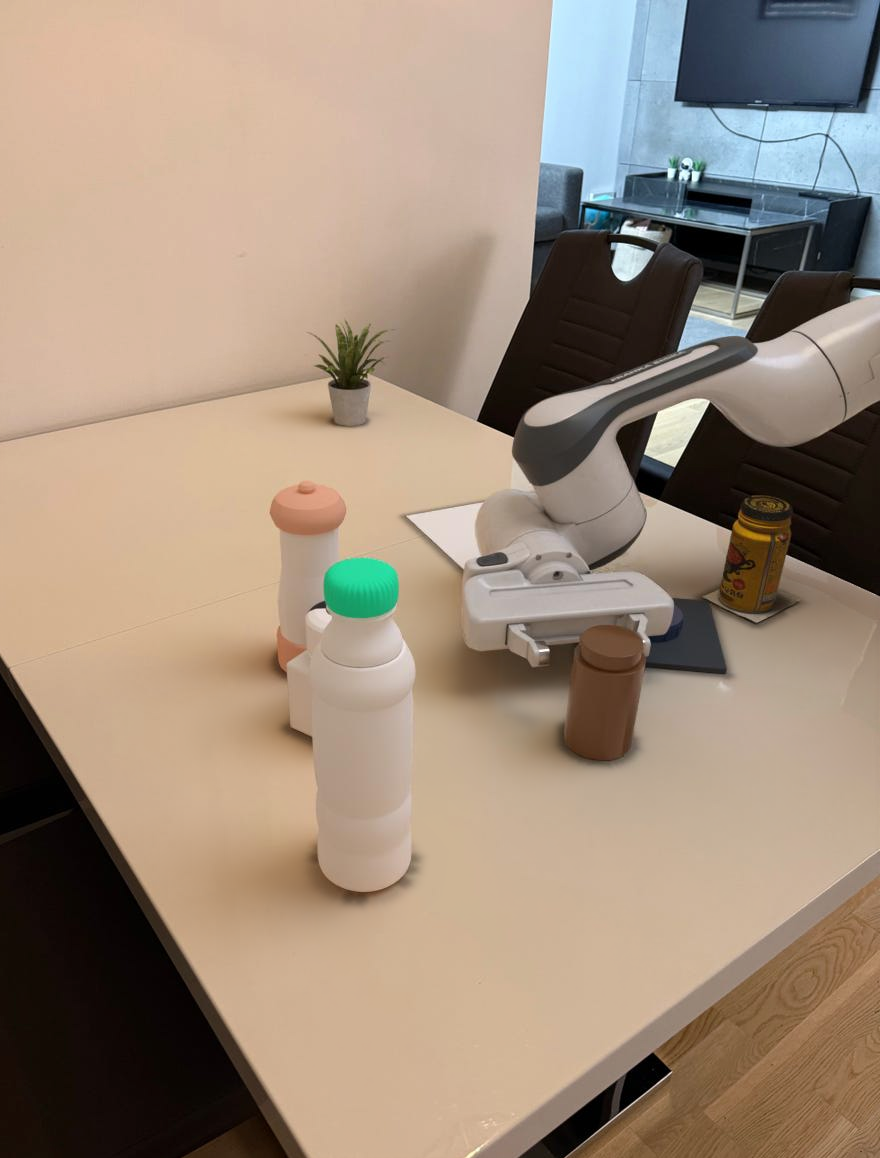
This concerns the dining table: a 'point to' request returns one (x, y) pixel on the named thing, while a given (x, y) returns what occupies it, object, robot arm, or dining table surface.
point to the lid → (670, 628)
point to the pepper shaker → (304, 557)
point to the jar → (604, 692)
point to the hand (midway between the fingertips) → (592, 655)
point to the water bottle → (362, 729)
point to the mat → (691, 642)
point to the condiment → (756, 560)
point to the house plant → (350, 376)
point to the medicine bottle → (305, 671)
